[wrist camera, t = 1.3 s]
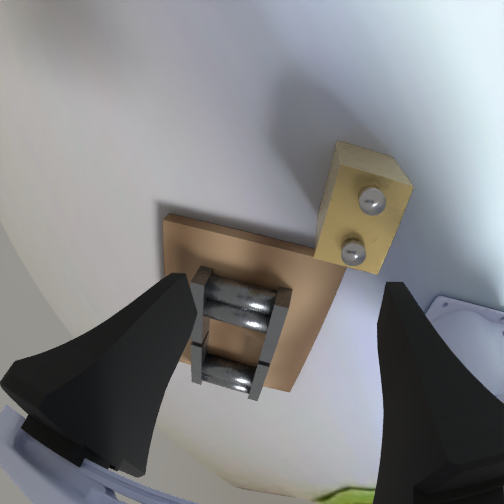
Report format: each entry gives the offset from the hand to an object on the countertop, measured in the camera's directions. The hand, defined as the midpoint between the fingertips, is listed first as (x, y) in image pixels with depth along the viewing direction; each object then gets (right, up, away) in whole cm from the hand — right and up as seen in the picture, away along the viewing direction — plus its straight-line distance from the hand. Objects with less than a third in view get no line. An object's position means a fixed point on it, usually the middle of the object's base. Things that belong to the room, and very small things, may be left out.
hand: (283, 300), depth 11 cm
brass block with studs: (+5, +6, +7) cm, 10 cm away
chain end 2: (-3, -9, +17) cm, 20 cm away
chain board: (-2, -4, +15) cm, 16 cm away
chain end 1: (-2, -3, +13) cm, 14 cm away
